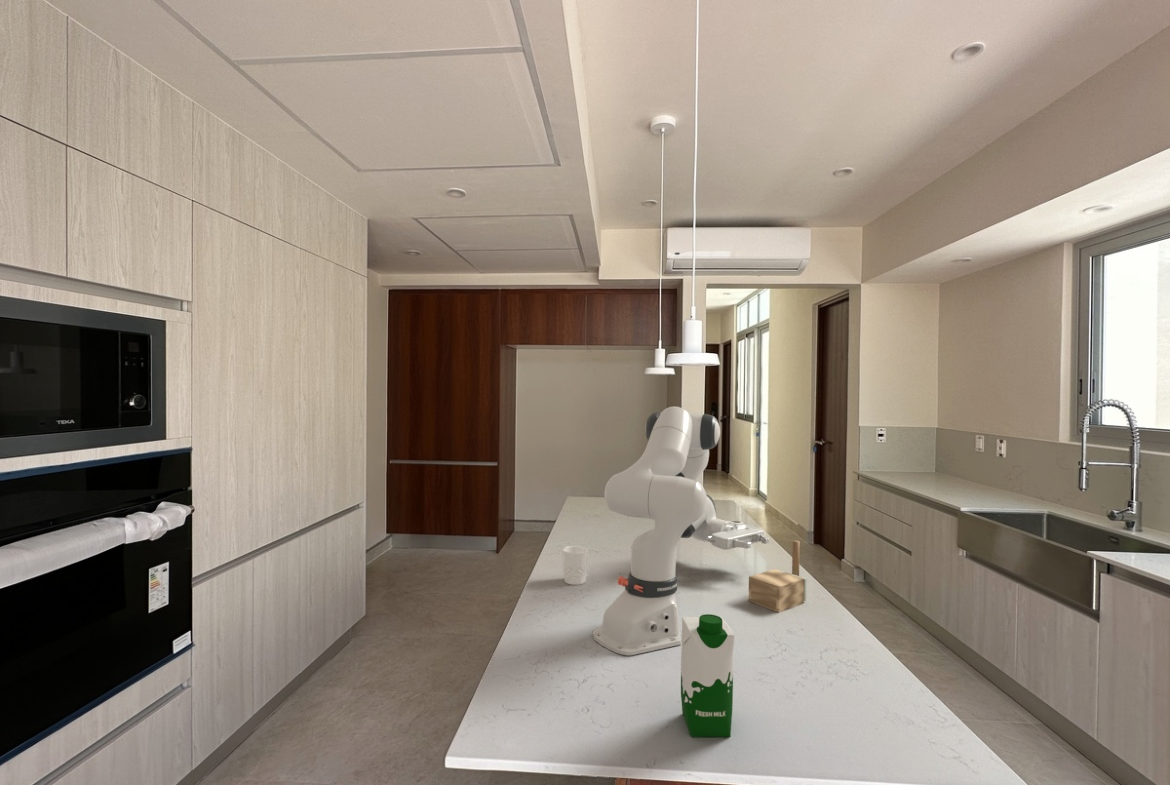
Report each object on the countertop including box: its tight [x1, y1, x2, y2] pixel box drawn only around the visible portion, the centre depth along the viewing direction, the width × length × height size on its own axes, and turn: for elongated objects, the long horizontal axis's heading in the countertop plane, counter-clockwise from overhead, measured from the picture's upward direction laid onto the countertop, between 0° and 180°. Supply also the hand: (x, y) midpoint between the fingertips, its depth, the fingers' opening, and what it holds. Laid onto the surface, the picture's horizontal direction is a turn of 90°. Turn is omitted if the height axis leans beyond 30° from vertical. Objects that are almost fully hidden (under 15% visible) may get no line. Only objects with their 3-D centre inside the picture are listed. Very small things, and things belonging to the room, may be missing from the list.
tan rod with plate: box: [774, 539, 807, 602], centre depth 161 cm, size 15×10×16 cm, turn 127°
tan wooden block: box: [748, 568, 805, 613], centre depth 159 cm, size 12×10×7 cm
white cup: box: [562, 545, 589, 586], centre depth 173 cm, size 8×8×10 cm
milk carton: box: [680, 613, 735, 738], centre depth 100 cm, size 9×9×20 cm
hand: (758, 543), depth 175 cm, fingers open, 8 cm apart
